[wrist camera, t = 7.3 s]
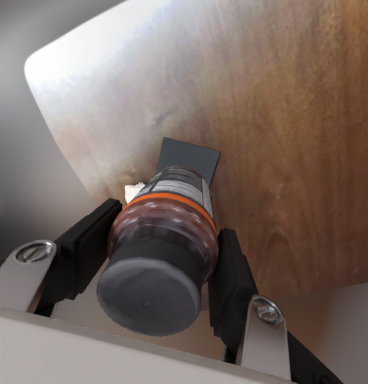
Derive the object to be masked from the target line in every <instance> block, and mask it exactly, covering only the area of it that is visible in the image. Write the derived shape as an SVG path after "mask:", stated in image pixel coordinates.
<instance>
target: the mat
mask: <svg viewBox="0 0 368 384" xmlns="http://www.w3.org/2000/svg"><path fill="white" fill-rule="evenodd" d="M219 154H220V152H218V151H214V150H211V149H207V148H203V147H199V146H195V145H191V144H188V143H184V142H180V141H176V140H172V139H169V138H165V137H164V138H163V143H162V148H161V153H160V159H159V164H158V169H157V173H158V172H159V171H161V170H162V169H164V168H166V167H170V166H175V165H180V166H186V167H189V168H192V169H194V170H196V171H197V172H198V173H200V175H202V177H203V178H204V179H205V181H206V183H207V185H208V187H209V185H210V182H211V179H212V176H213V173H214V170H215V166H216V163H217V160H218V157H219Z"/></svg>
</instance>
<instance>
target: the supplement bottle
mask: <svg viewBox="0 0 368 384" xmlns="http://www.w3.org/2000/svg"><path fill="white" fill-rule="evenodd" d="M107 251H108V256H109V260H110V261H109V263H108V265H107V267H106V268H105V270H104V271H103V273H102V275H101V276H100V279H99V281H98V284H97V296H98V301H99V303H100V306H101V307H102V308H103V310H104V312H105V313H106V314H107V316H108V317H110V318H111V319H112V320H113V321H114V322H115V323H117V324H118V325H120V326H121V327H124V328H126V329H128V330H130V331H133V332H135V333H139V334H143V335H149V336H159V337H161V336H168V335H172V334H175V333H179V332H181V331H183V330H185V329H186V328H188V327H189V326H190V325H191V324H192V323H193V322H194V321H195V320H196V318H197V317H198V315H199V312H200V308H201V288H202V286H203V285H204V284H205V283H206V282H207V281H208V279H209V278H210V277H211V275H212V274H213V272H214V271H215V269H216V266H217V263H218V258H219V245H218V235H217V231H216V223H215V218H214V212H213V206H212V198H211V196H210V190H209V187H208V185H207V183H206V181H205V179H204V178H203V177H202V175H200V173H198V172H197V171H196V170H194V169H192V168H189V167H186V166H180V165H175V166H170V167H166V168H164V169H162V170H161V171H159V172H158V173H157V174H155V175H154V176H153V177H152V178H151V179H150V181H149V182H148V183H147V184H146V185H145V186H144V187H143V188H142V189H141V190H140V191H139V193H138V194H137V195H136V196H135V197H134V198H133V199H132V200H131V201H130V202H129V203H128V204H127V205H126V207H125V208H124V209H123V210H122V211H121V212H120V213H119V215H118V216H117V218H116V219H115V221H114V222H113V224H112V226H111V228H110V231H109V234H108V240H107Z"/></svg>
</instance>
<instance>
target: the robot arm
mask: <svg viewBox="0 0 368 384" xmlns="http://www.w3.org/2000/svg"><path fill="white" fill-rule="evenodd" d="M121 211H122V204H121V203H120V201H119V200H115V199H111V198H109V199H108V200H107V201H105V202H104V203H103V204H102V205H100V206H99V207H98V208H97V209H95V210H94V211H93V212H92V213H91V214H89V215H87V216H85V217H84V218H83V219H82V220H80V221H79V222H78V223H76V224H75V225H74V226H73V227H71V228H70V229H69V230H68V231H66V232H65V233H64V234H63V235H61V236H60V237H59V238H58V239H57V240H55V241H54V242H51V241H48V240H36V241H32V242H28V243H26V244H23V245H21V246H19V247H18V248H16V249H15V250H14V251H13V252H12V253H11V254H10V256H9V257H8V258H7V259H6V260H2V261H0V384H343V383H342V382H341V381H340V380H339V379H338V377H337V376H336V375H335V374H333V373H332V372H331V371H330V370H329V369H328V368H327V367H326V366H325V365H324V364H323V363H322V362H321V361H320V360H319V359H318V358H317V357H315V356H314V355H313V354H312V353H311V352H310V351H309V350H308V349H307V348H306V347H305V346H304V345H303V344H302V343H301V342H299V341H298V340H297V339H296V338H295V337H294V336H293V335H292V334H291V333H290V332H289V331H288V330H287V327H286V320H285V316H284V314H283V312H282V311H281V309H280V308H279V307H278V305H277V304H276V303H274V302H273V301H272V300H271V299H269V298H268V297H266V296H263V295H259V293H258V290H257V287H256V284H255V281H254V279H253V276H252V273H251V270H250V267H249V264H248V261H247V258H246V256H245V255H243V254H242V251H241V248H240V245H239V242H238V239H237V236H236V233H235V230H232V229H228V228H225V229H224V230H222V229H221V231H220V233H219V236H218V245H219V258H218V263H217V266H216V269H215V271H214V272H213V274H212V275H211V277H210V278H209V279H208V293H209V312H210V326H211V327H214V336H217V337H221V340H222V341H223V343H224V344H225V346H224V350H223V355H222V358H221V361H219V360H215V359H211V358H207V357H203V356H199V355H196V354H192V353H187V352H184V351H180V350H176V349H172V348H168V347H164V346H160V345H156V344H152V343H148V342H145V341H141V340H137V339H132V338H129V337H125V336H121V335H116V334H113V333H109V332H105V331H101V330H97V329H93V328H89V327H85V326H81V325H76V324H72V323H69V322H64V321H60V320H56V319H53V318H54V315H55V313H56V310H57V307H58V304H59V302H60V301H62V300H64V299H65V298H66V299H71V300H74V299H75V298H76V296H77V295H78V293H80V294H81V293H83V292H84V290H85V289H86V287H87V286H88V284H89V283H90V282H91V280H92V278H93V277H94V276H95V275H96V273H97V272H98V270H99V269H100V267H101V266H102V265H103V263H104V262H105V260H106V259H107V257H108V251H107V240H108V234H109V231H110V228H111V226H112V224H113V222H114V221H115V219H116V218H117V216H118V215H119V213H120V212H121Z"/></svg>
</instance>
